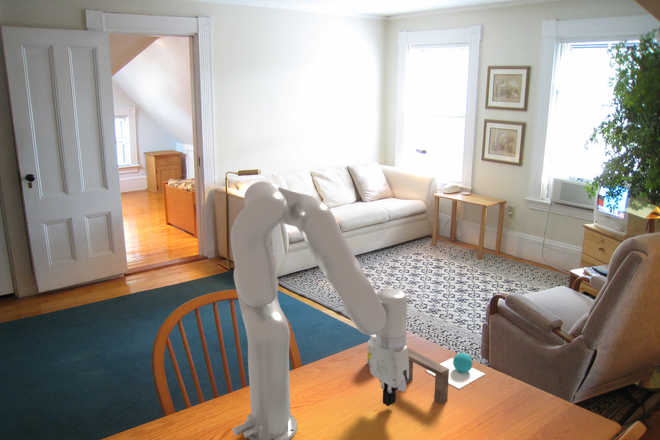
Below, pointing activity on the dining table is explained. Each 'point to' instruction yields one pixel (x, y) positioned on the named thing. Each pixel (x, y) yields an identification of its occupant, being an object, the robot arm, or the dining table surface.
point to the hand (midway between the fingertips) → (389, 402)
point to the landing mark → (459, 375)
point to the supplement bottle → (370, 347)
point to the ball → (462, 362)
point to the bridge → (436, 368)
